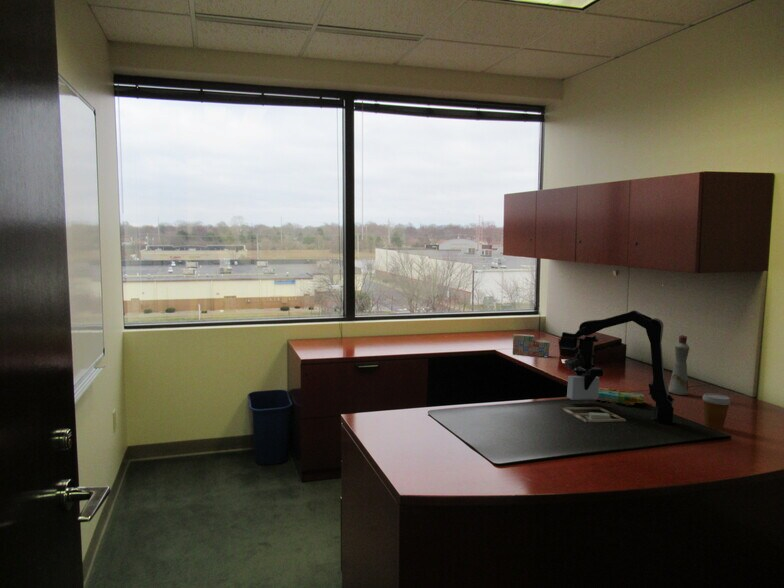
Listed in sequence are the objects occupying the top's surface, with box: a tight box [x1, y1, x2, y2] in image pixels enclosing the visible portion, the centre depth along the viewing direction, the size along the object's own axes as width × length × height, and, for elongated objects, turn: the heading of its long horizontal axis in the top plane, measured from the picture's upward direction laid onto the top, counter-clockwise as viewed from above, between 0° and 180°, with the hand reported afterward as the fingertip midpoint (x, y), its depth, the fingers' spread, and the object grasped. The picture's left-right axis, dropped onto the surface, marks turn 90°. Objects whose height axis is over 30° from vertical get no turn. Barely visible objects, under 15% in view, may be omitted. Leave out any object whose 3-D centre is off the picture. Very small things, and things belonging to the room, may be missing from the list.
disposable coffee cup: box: [701, 392, 731, 431], centre depth 222 cm, size 10×10×12 cm
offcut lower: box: [583, 416, 613, 420], centre depth 222 cm, size 4×10×2 cm, turn 96°
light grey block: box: [566, 375, 600, 401], centre depth 242 cm, size 4×12×9 cm, turn 104°
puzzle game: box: [594, 386, 645, 406], centre depth 254 cm, size 12×5×20 cm
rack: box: [561, 406, 627, 423], centre depth 226 cm, size 17×17×2 cm
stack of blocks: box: [512, 333, 550, 358], centre depth 356 cm, size 21×6×12 cm, turn 80°
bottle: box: [668, 334, 690, 396], centre depth 274 cm, size 9×9×28 cm
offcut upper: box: [588, 412, 611, 419], centre depth 222 cm, size 3×7×2 cm, turn 87°
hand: (583, 388), depth 242 cm, fingers closed on light grey block, 4 cm apart
